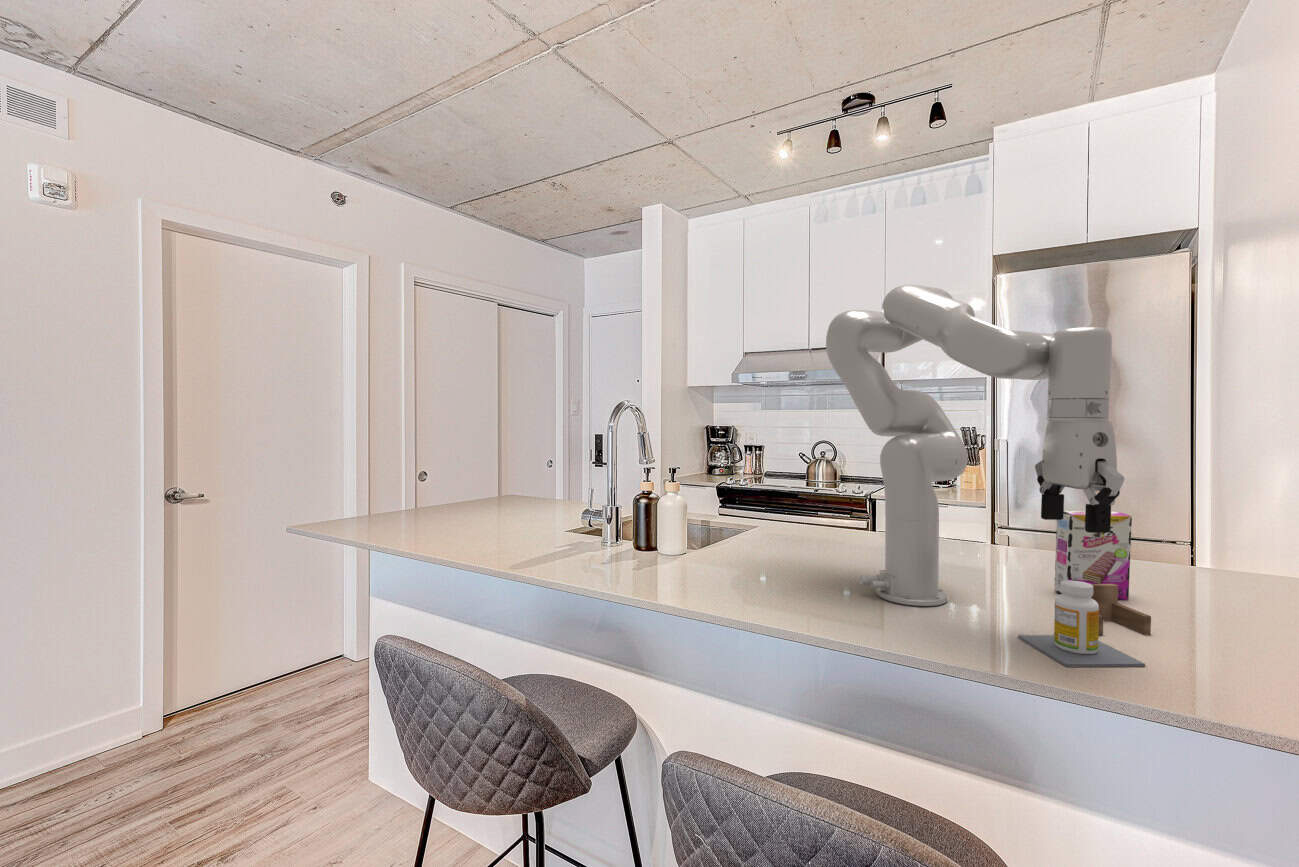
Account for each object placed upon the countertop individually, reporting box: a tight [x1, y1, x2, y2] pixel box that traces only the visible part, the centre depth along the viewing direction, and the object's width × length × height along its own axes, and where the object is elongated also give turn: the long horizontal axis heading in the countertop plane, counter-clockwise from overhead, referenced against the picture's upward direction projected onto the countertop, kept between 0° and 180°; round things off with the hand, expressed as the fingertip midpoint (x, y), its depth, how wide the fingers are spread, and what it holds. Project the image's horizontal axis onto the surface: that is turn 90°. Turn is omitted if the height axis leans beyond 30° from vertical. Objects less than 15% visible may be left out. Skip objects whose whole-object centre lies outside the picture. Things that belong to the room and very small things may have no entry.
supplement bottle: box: [1053, 580, 1100, 654], centre depth 89 cm, size 5×5×10 cm
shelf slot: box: [1091, 584, 1152, 636], centre depth 99 cm, size 9×8×6 cm
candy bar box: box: [1054, 510, 1133, 601], centre depth 116 cm, size 11×5×16 cm, turn 84°
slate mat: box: [1017, 634, 1146, 668], centre depth 89 cm, size 11×11×1 cm
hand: (1073, 525), depth 90 cm, fingers open, 9 cm apart
